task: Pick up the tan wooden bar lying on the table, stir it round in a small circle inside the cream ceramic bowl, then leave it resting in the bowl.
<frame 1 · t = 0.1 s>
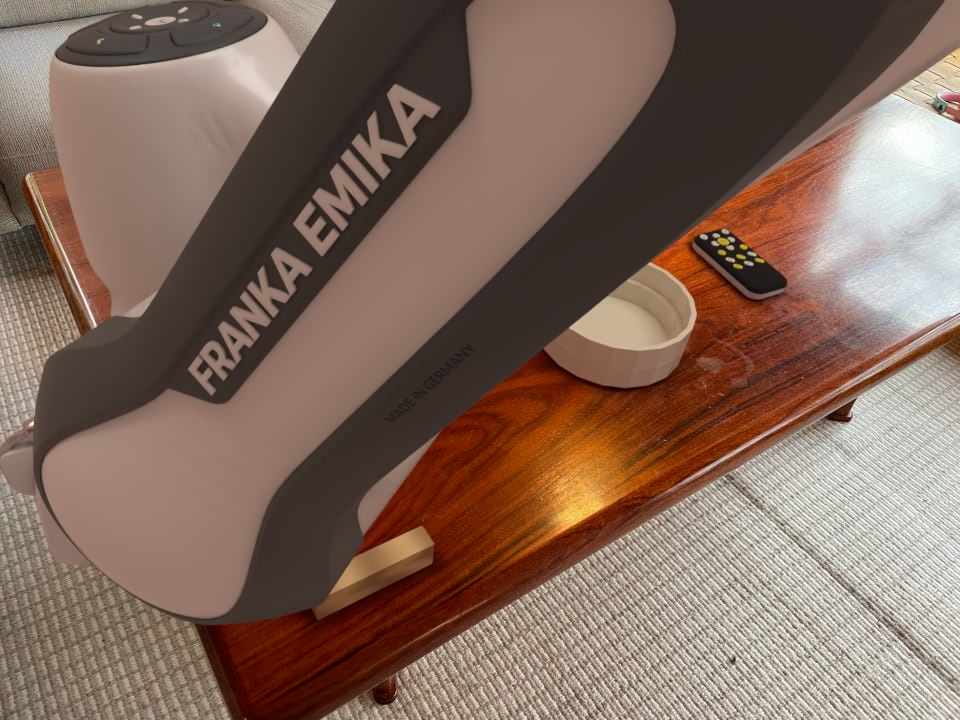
hand: (258, 520, 45), 14 cm above the table, tool pointing down, fingers open, 8 cm apart
cup: (300, 304, 81), on the table
stuffed squirrel: (406, 158, 107), on the table
grey hollow cylinder: (178, 383, 71), on the table
remote control: (735, 270, 95), on the table
tan wooden bar: (371, 581, 58), on the table
teapot: (698, 157, 116), on the table
bowl: (607, 338, 82), on the table
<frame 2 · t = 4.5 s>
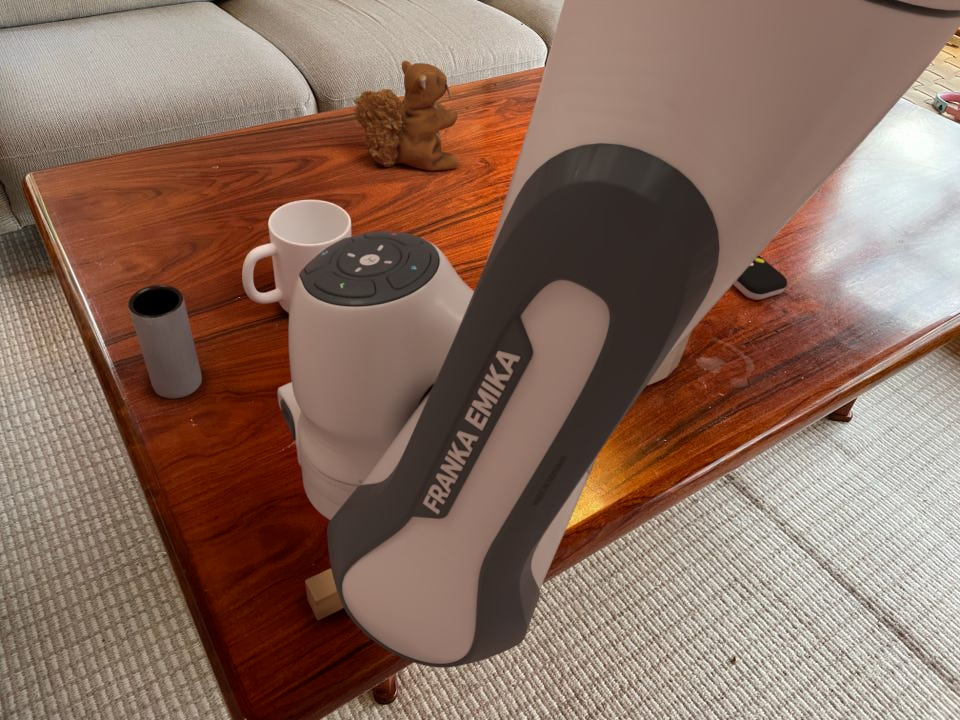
hand: (371, 568, 57), 2 cm above the table, tool pointing down, fingers closed on tan wooden bar, 2 cm apart
tan wooden bar: (371, 581, 58), on the table, touching gripper
everything else where it was.
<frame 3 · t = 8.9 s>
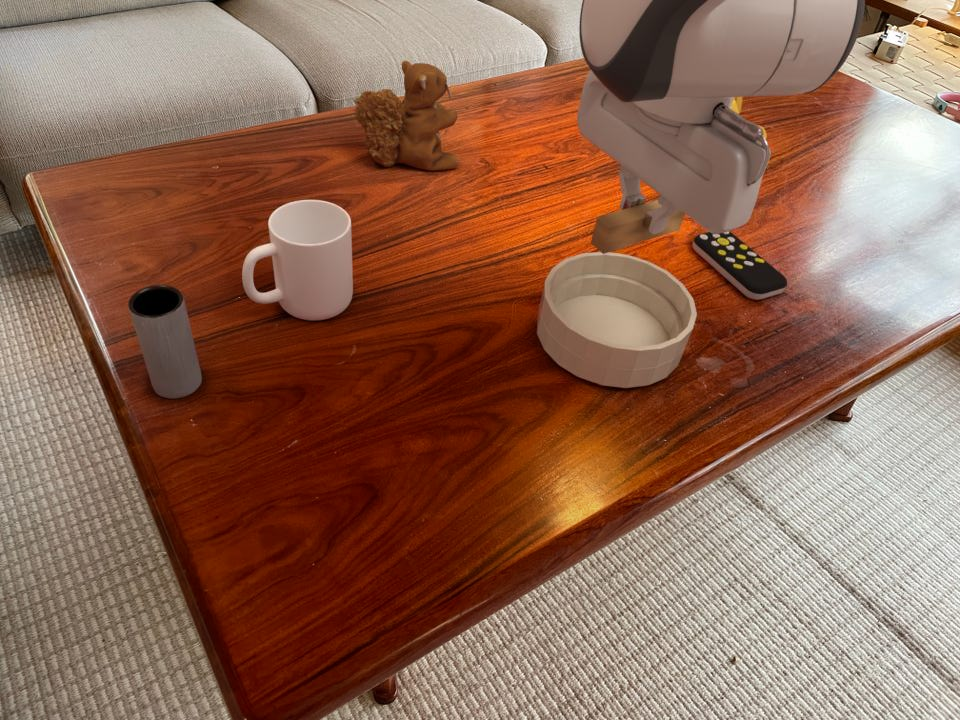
hand: (641, 220, 71), 16 cm above the table, tool pointing down, fingers closed on tan wooden bar
tan wooden bar: (635, 236, 72), point 14 cm above the table, touching gripper
everything else where it was.
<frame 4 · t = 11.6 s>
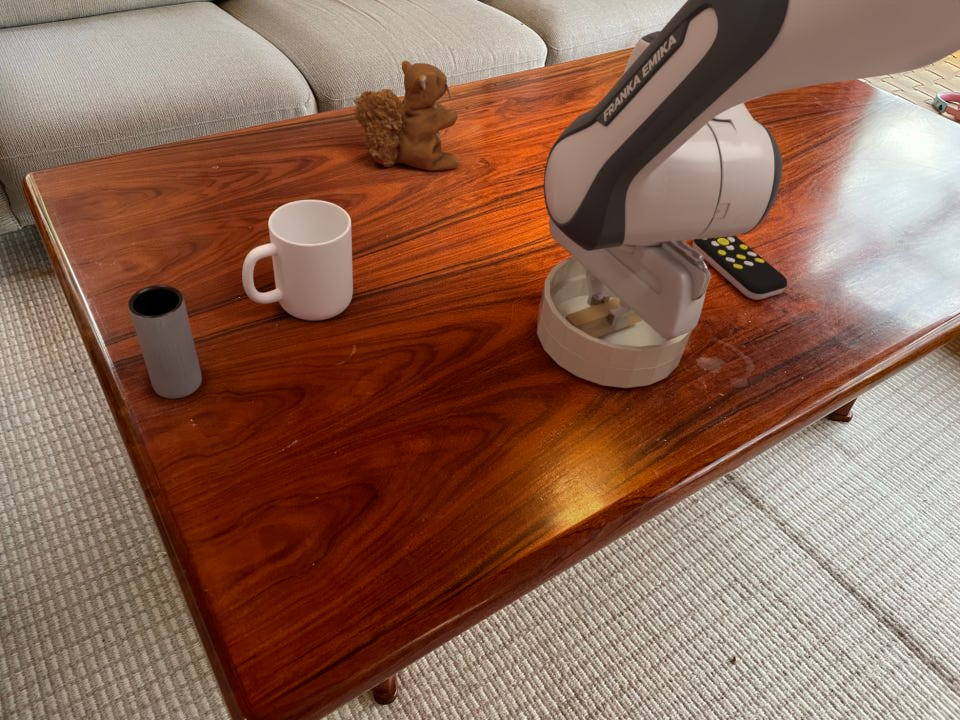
hand: (605, 315, 80), 3 cm above the table, tool pointing down, fingers closed on tan wooden bar, 2 cm apart
tan wooden bar: (602, 328, 81), point 1 cm above the table, touching gripper
everything else where it was.
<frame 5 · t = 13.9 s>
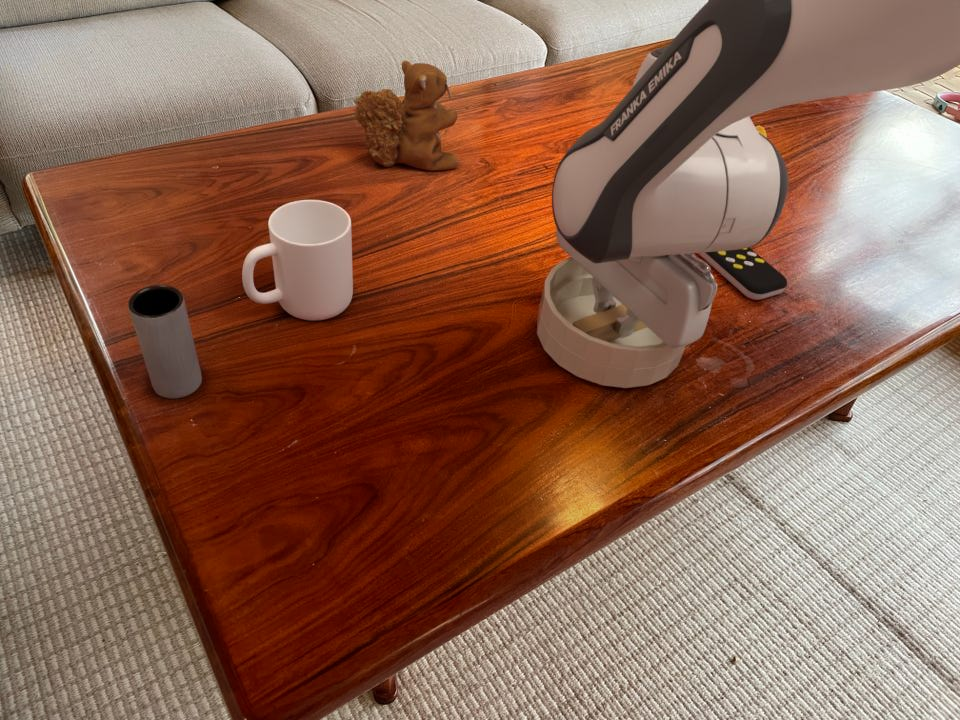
hand: (612, 323, 81), 2 cm above the table, tool pointing down, fingers closed
tan wooden bar: (608, 334, 82), point 1 cm above the table, touching bowl
everything else where it was.
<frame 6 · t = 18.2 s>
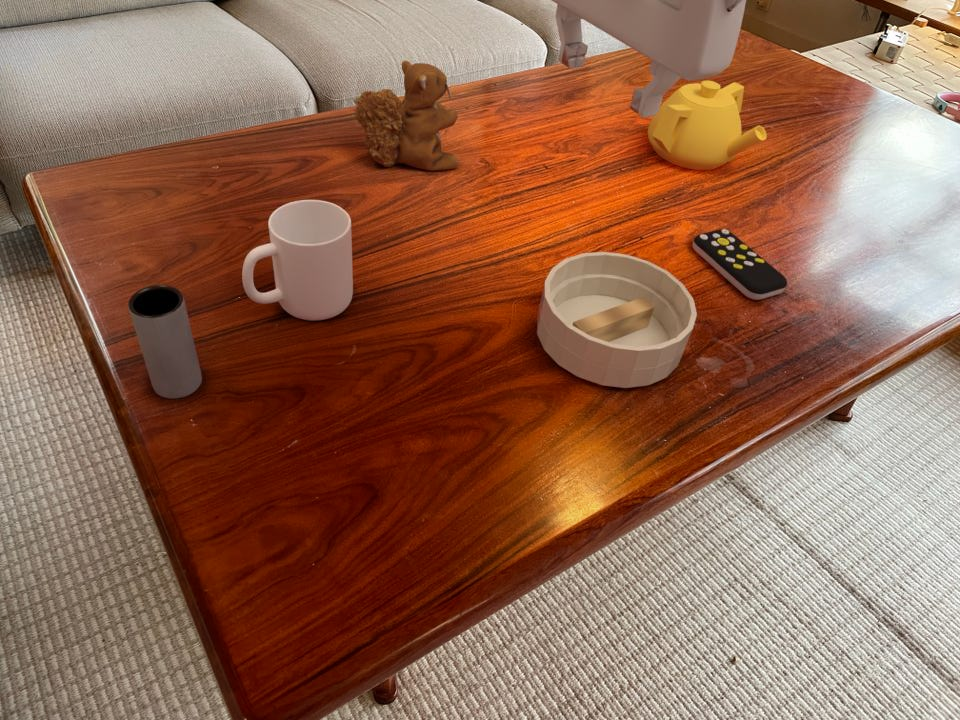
hand: (605, 87, 60), 29 cm above the table, tool pointing down, fingers open, 8 cm apart
nothing on the table moved.
at the end: tan wooden bar inside the target area in the bowl (0.0 cm from its centre), point 0.6 cm above the bowl's base; tan wooden bar moved 38.6 cm from its start; the gripper is holding nothing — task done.
